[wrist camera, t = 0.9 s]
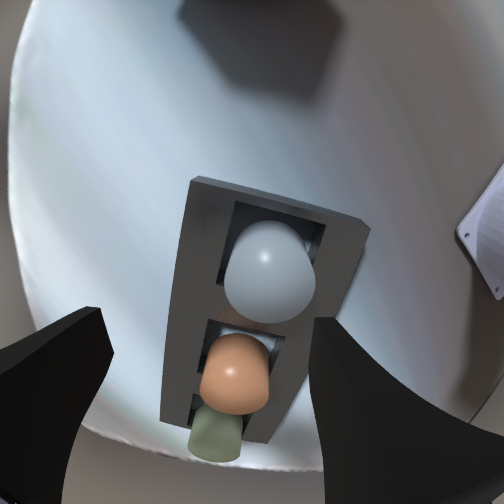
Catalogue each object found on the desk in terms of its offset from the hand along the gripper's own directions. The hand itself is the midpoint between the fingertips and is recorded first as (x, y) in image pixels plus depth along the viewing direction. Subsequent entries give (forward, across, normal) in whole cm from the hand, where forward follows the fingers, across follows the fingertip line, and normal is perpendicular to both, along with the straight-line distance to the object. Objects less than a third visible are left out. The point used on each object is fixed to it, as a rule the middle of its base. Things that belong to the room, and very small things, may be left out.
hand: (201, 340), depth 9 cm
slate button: (+8, -2, 0) cm, 8 cm away
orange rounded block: (+8, 0, +7) cm, 11 cm away
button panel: (+10, 0, +7) cm, 12 cm away
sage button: (+8, +1, +15) cm, 17 cm away
